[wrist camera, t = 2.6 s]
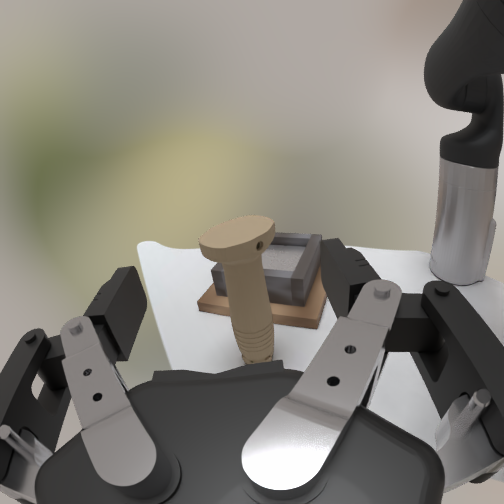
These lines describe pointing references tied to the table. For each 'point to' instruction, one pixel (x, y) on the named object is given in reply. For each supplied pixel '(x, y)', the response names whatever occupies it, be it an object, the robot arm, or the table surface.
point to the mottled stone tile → (282, 257)
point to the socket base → (281, 286)
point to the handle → (245, 280)
